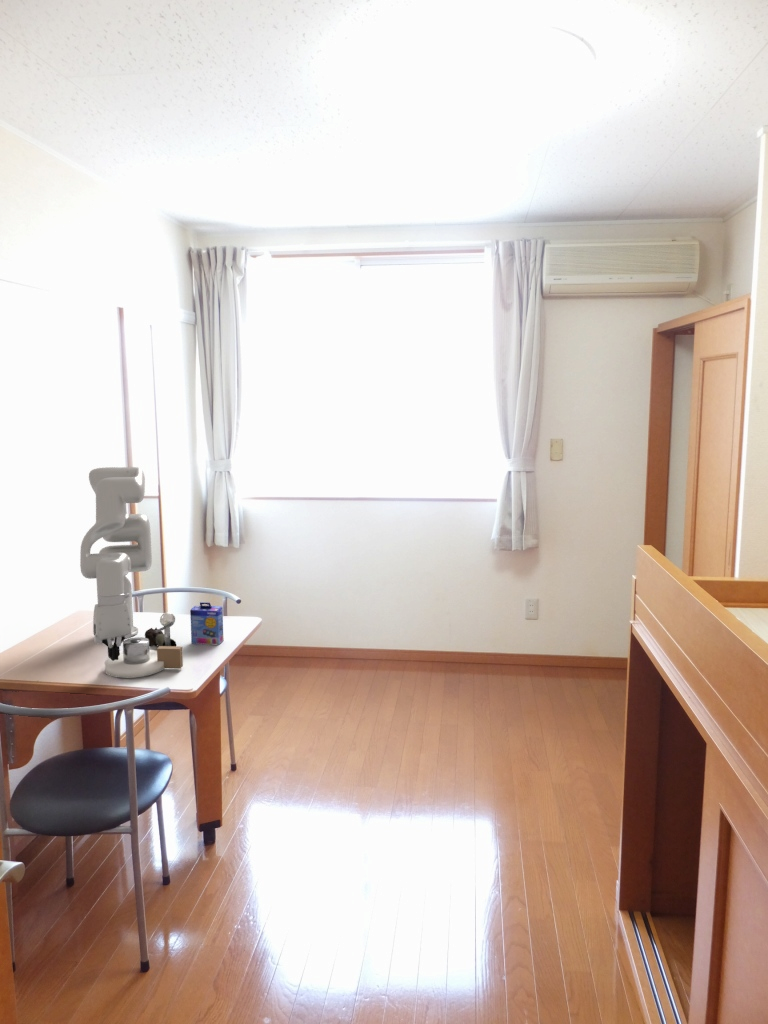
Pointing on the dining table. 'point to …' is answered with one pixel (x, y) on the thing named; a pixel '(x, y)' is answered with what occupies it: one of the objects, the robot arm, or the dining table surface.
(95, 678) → the dining table surface
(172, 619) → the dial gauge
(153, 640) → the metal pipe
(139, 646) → the silver metal cylinder
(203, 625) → the ink cartridge box
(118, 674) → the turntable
